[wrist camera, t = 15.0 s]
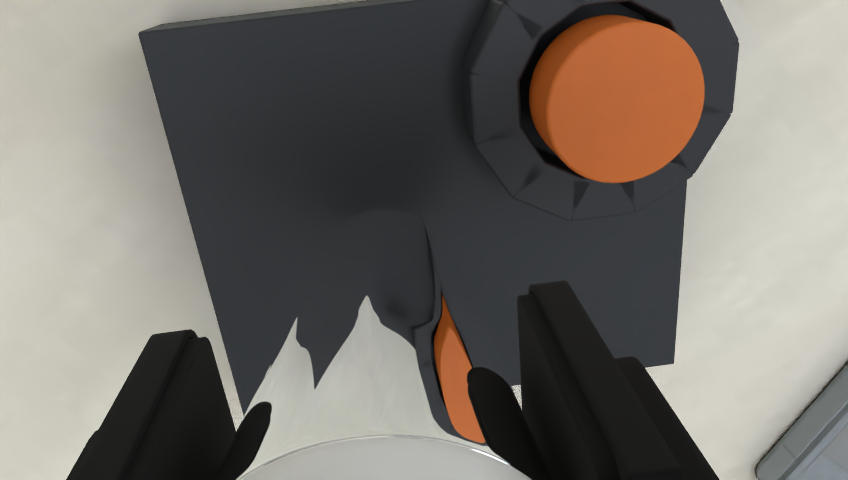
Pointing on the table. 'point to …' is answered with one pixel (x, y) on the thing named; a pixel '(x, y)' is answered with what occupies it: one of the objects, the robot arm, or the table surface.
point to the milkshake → (385, 370)
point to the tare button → (616, 97)
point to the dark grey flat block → (419, 159)
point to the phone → (814, 440)
